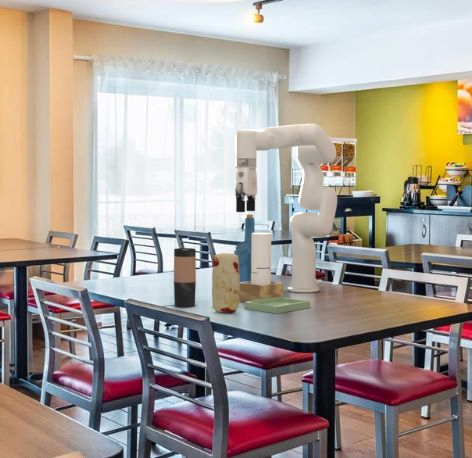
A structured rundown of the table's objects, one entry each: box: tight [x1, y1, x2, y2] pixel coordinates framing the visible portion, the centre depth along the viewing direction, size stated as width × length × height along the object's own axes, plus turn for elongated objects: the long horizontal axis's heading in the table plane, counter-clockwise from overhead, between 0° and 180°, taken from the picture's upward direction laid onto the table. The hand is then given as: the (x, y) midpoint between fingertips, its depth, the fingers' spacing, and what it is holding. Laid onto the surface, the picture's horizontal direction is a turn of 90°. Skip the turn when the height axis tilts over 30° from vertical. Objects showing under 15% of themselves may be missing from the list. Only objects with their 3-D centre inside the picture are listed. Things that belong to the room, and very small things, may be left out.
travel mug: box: [173, 247, 197, 308], centre depth 274 cm, size 8×8×20 cm
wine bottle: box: [233, 213, 256, 282], centre depth 328 cm, size 14×13×30 cm
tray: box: [244, 296, 311, 314], centre depth 271 cm, size 18×15×2 cm
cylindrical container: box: [251, 232, 272, 285], centre depth 284 cm, size 7×7×25 cm
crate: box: [238, 280, 284, 304], centre depth 285 cm, size 12×12×7 cm
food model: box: [211, 252, 240, 314], centre depth 261 cm, size 10×7×20 cm
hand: (245, 211), depth 282 cm, fingers open, 9 cm apart
